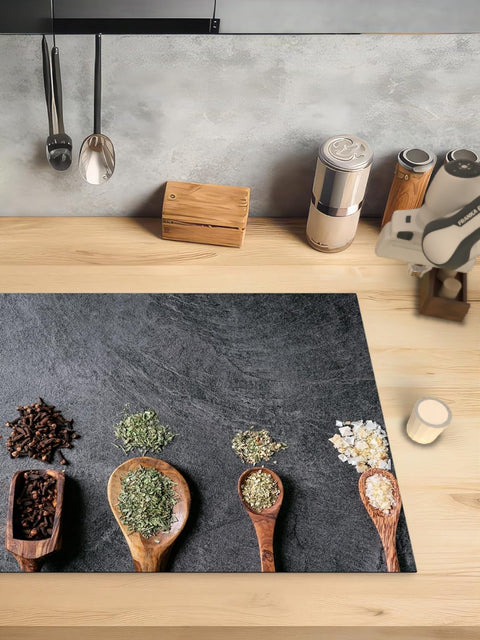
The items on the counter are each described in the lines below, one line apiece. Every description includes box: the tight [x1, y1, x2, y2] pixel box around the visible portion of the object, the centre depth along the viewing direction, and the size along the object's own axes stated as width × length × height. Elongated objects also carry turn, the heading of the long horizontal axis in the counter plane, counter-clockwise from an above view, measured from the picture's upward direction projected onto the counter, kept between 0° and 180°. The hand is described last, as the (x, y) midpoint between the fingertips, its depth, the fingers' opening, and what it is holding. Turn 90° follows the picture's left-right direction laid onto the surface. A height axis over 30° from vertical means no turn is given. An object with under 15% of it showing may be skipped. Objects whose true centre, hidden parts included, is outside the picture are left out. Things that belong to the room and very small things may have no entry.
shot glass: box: [406, 396, 453, 445], centre depth 139 cm, size 7×7×7 cm
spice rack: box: [418, 265, 471, 323], centre depth 160 cm, size 9×16×7 cm, turn 164°
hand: (414, 274), depth 161 cm, fingers closed
